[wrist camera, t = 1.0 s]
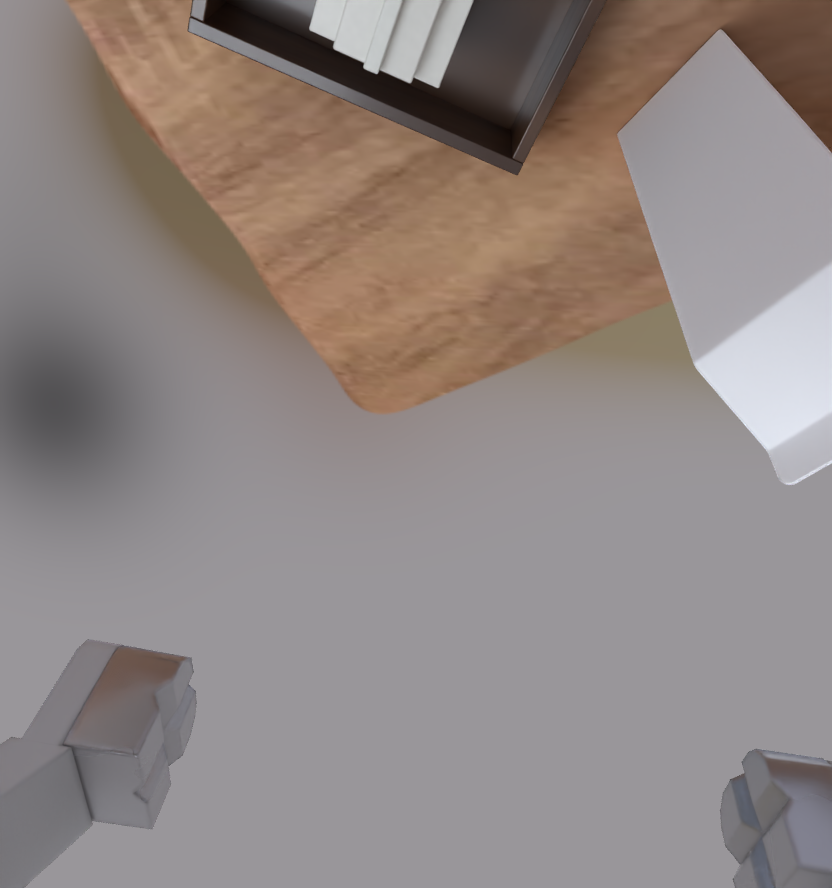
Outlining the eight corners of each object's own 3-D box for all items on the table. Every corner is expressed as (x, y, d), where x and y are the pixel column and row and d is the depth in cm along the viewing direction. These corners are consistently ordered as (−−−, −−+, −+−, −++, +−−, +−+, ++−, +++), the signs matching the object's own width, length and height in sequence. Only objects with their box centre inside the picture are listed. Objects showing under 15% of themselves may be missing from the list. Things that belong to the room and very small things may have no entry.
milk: (615, 132, 36) (708, 435, 20) (721, 24, 32) (940, 282, 16) (696, 210, 38) (840, 538, 22) (803, 116, 35) (1069, 424, 18)
